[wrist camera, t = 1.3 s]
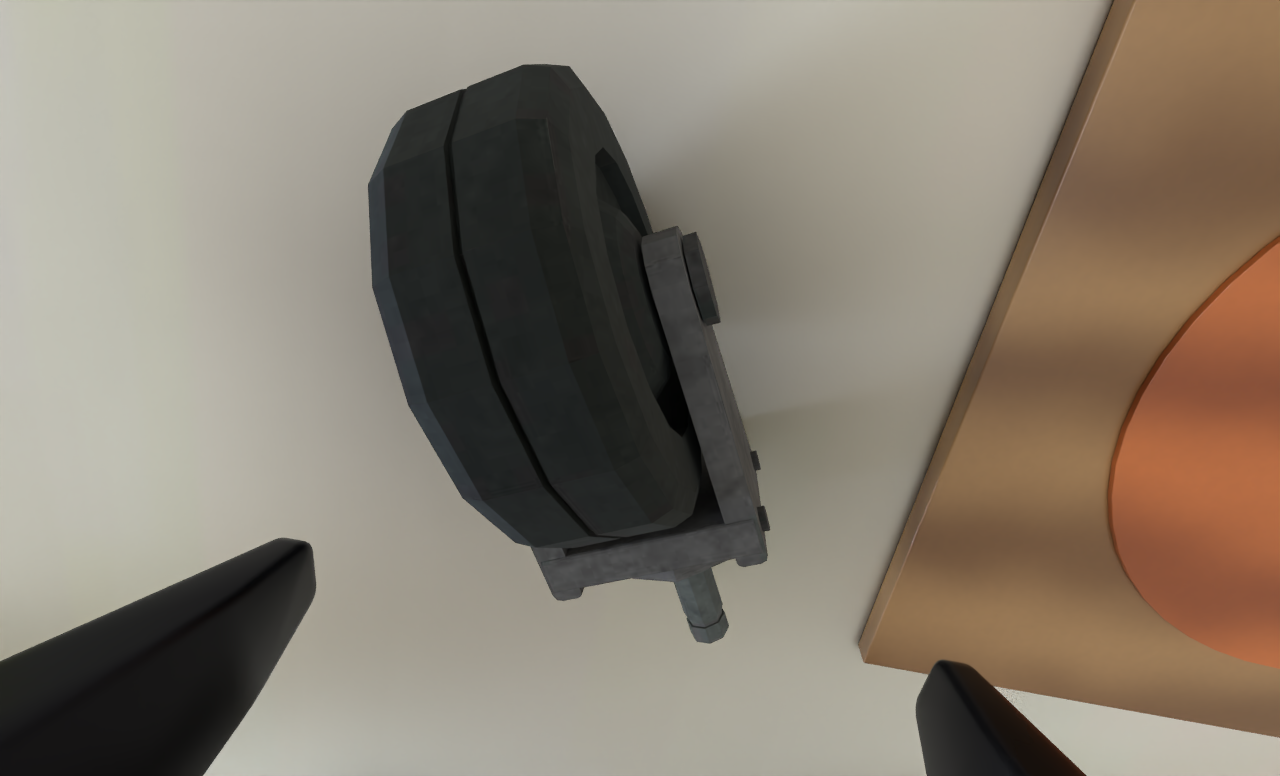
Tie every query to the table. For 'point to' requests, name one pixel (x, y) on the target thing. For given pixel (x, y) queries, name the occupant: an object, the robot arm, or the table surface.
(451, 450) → the caster wheel
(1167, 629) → the wooden board
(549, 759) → the table surface
